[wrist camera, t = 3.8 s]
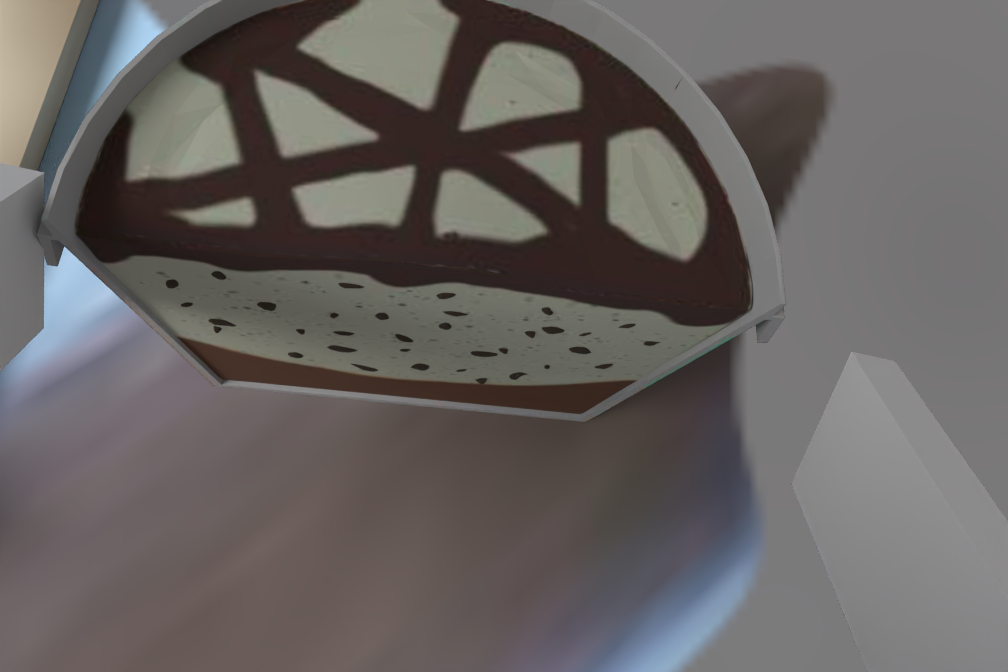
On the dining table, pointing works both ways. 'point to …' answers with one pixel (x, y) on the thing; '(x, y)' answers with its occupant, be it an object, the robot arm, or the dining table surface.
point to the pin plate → (36, 71)
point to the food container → (420, 204)
